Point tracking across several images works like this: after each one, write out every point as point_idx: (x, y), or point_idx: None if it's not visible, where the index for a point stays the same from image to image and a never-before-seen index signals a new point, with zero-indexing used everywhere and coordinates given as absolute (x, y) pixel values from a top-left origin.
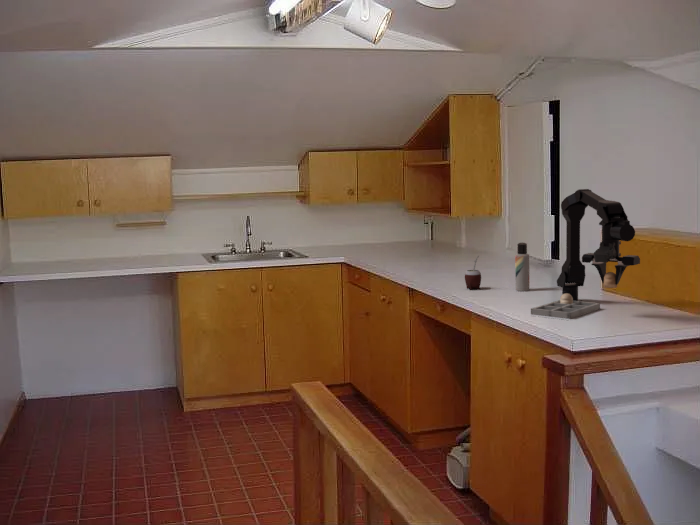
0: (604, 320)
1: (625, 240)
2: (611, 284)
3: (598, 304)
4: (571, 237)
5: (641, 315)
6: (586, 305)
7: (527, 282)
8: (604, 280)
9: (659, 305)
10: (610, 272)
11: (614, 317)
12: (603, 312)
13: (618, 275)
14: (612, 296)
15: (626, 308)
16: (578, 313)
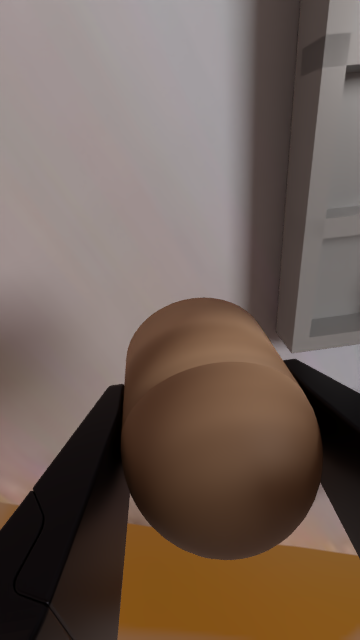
0: (91, 59)
1: None
2: (150, 340)
3: (291, 334)
4: None
5: (44, 352)
6: (357, 321)
7: None
8: (267, 353)
9: (133, 523)
10: (228, 526)
11: (110, 214)
12: (238, 301)
13: (33, 492)
14: (337, 534)
15: None
16: (314, 14)
